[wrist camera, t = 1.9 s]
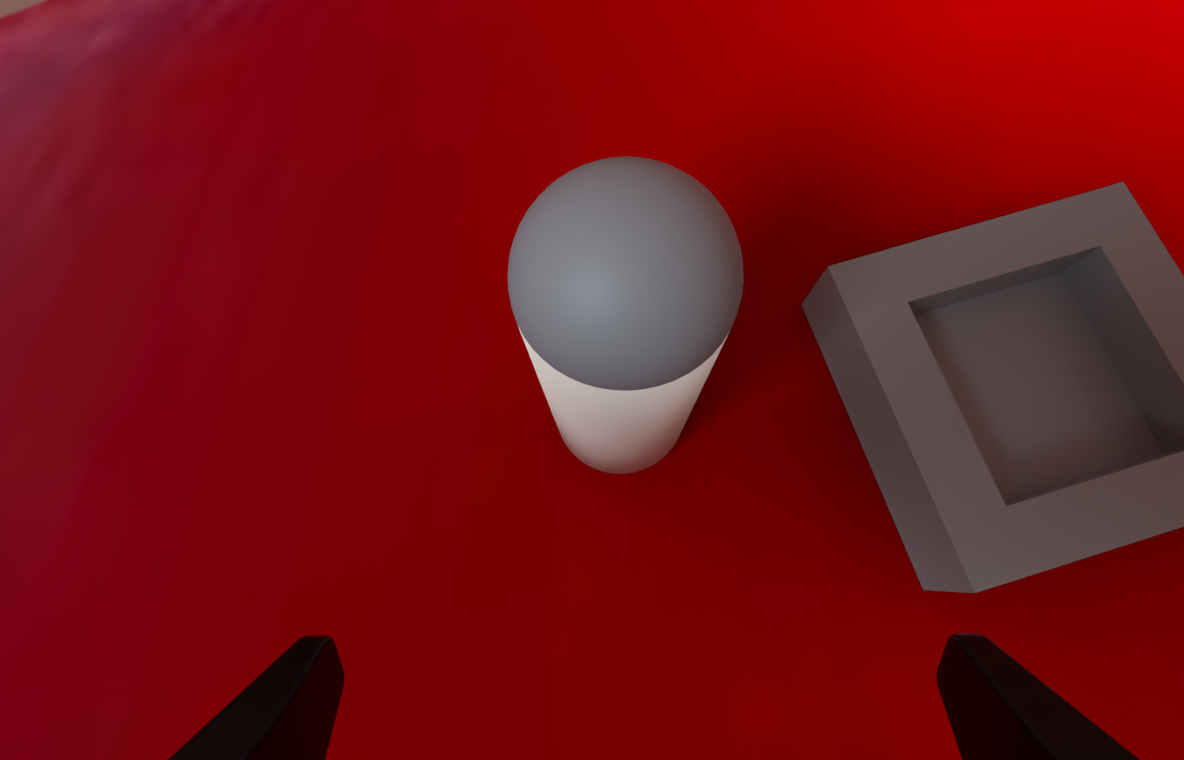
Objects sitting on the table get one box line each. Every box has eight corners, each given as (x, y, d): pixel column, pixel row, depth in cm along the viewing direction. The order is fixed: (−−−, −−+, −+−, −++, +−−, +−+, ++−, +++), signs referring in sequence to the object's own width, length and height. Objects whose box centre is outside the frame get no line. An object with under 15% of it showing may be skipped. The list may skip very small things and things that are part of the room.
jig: (1218, 496, 22) (1316, 484, 19) (923, 589, 21) (974, 592, 18) (1061, 229, 25) (1123, 181, 22) (801, 304, 25) (827, 266, 21)
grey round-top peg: (701, 452, 23) (812, 302, 10) (575, 489, 23) (526, 385, 10) (660, 334, 24) (712, 72, 12) (541, 369, 24) (459, 140, 11)
